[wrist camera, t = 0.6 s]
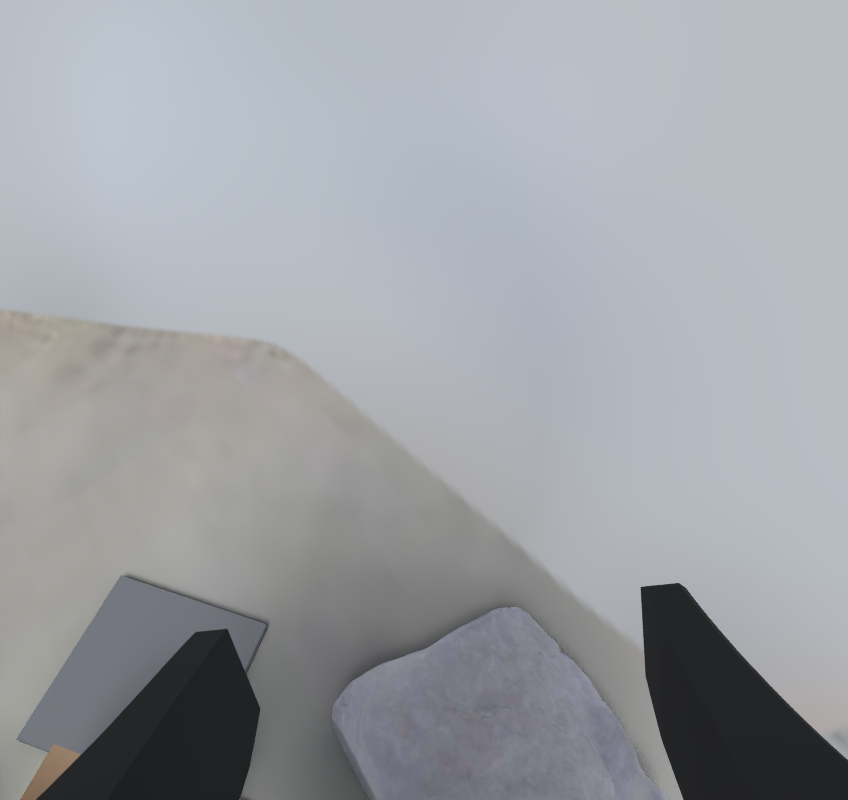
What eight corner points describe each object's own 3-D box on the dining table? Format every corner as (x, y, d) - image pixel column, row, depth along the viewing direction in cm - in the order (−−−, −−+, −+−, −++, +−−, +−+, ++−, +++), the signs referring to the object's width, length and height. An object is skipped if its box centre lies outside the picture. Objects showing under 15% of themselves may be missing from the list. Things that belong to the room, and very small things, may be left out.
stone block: (488, 619, 32) (304, 727, 27) (525, 569, 29) (323, 681, 24) (664, 871, 27) (476, 1071, 21) (733, 845, 24) (532, 1075, 18)
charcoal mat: (185, 804, 25) (184, 802, 25) (20, 741, 26) (16, 738, 25) (267, 627, 29) (266, 624, 29) (123, 579, 30) (121, 575, 30)
